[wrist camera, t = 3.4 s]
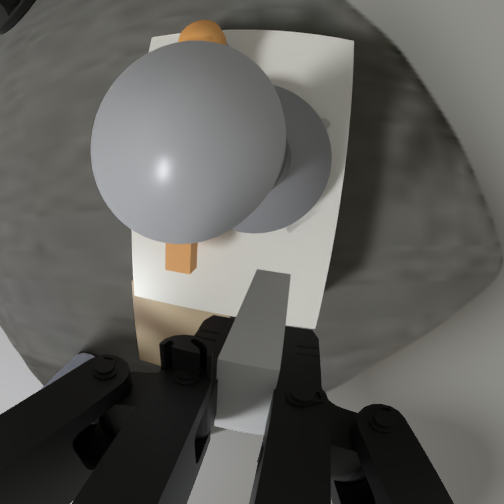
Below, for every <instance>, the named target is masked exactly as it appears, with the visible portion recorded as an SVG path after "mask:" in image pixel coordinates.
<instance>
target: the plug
mask: <svg viewBox="0 0 504 504" xmlns="http://www.w3.org/2000/svg"><path fill="white" fill-rule="evenodd" d="M91 161H92V168H93V173H94V177H95V180H96V183H97V186H98V189H99V191H100V193H101V195H102V197H103V199H104V201H105V202H106V204H107V205H108V207H109V208H110V210H111V211H112V212H113V213H114V215H115V216H116V217H117V218H118V219H119V220H120V221H121V222H122V223H124V224H125V225H126V226H127V227H129V228H130V229H132V230H133V231H135V232H136V233H138V234H140V235H142V236H144V237H147V238H149V239H152V240H155V241H159V242H163V243H169V244H192V243H197V242H202V241H206V240H209V239H212V238H215V237H218V236H220V235H221V234H223V233H225V232H227V231H229V230H233V231H238V232H243V233H266V232H272V231H276V230H279V229H282V228H285V227H287V226H289V225H291V224H293V223H294V222H296V221H298V220H299V219H301V218H302V217H303V216H304V215H305V214H307V213H308V212H309V211H310V210H311V209H312V208H313V206H314V205H315V204H316V203H317V201H318V200H319V198H320V197H321V196H322V194H323V192H324V190H325V188H326V185H327V182H328V179H329V176H330V171H331V162H332V153H331V145H330V140H329V136H328V133H327V131H326V128H325V126H324V124H323V122H322V120H321V119H320V117H319V116H318V114H317V113H316V112H315V110H314V109H313V108H312V107H311V106H310V105H309V104H308V103H307V102H306V101H305V100H303V99H302V98H301V97H299V96H298V95H296V94H294V93H293V92H291V91H289V90H287V89H284V88H282V87H279V86H275V85H273V84H272V83H271V81H270V79H269V78H268V76H267V75H266V74H265V73H264V71H263V70H262V69H261V68H260V67H259V66H258V65H257V64H256V63H255V62H254V61H252V60H251V59H250V58H249V57H247V56H246V55H244V54H243V53H241V52H239V51H238V50H236V49H233V48H231V47H229V46H226V45H223V44H219V43H215V42H209V41H200V40H198V41H183V42H177V43H172V44H169V45H166V46H162V47H160V48H158V49H155V50H153V51H151V52H149V53H147V54H146V55H144V56H142V57H141V58H139V59H138V60H136V61H135V62H134V63H132V64H131V65H130V66H129V67H128V68H127V69H126V70H125V71H124V72H123V73H122V74H121V75H120V76H119V77H118V78H117V79H116V80H115V82H114V83H113V84H112V86H111V87H110V89H109V90H108V92H107V93H106V95H105V97H104V99H103V101H102V103H101V105H100V107H99V110H98V112H97V115H96V118H95V122H94V126H93V131H92V138H91Z"/></svg>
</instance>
